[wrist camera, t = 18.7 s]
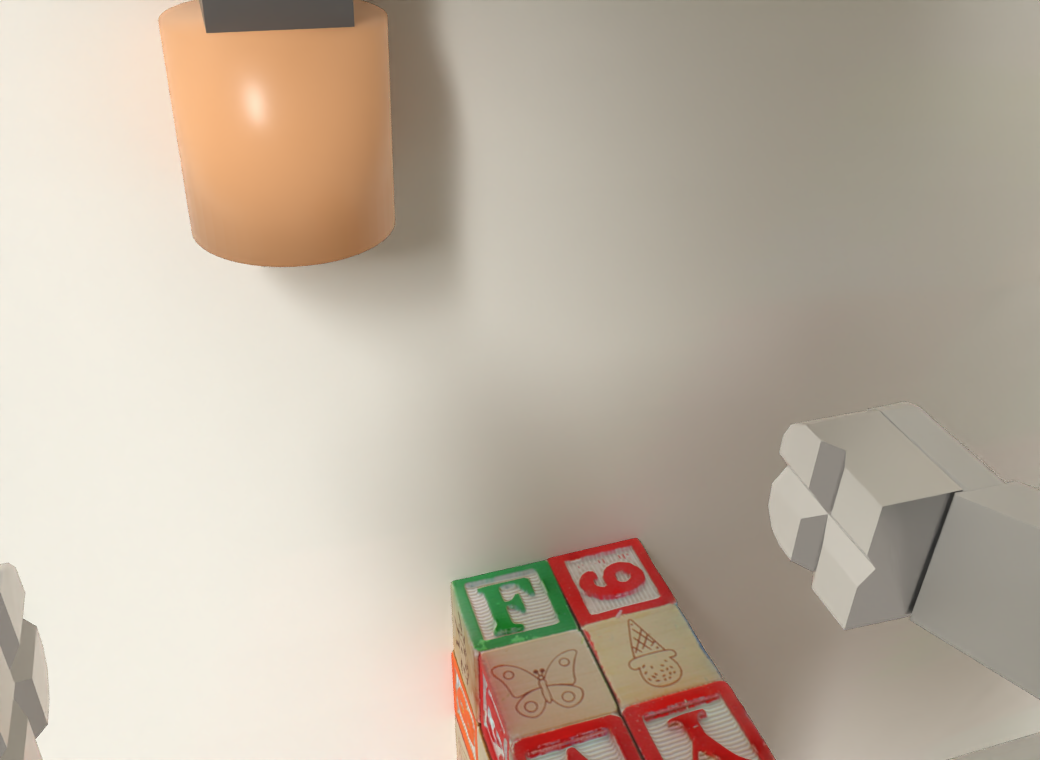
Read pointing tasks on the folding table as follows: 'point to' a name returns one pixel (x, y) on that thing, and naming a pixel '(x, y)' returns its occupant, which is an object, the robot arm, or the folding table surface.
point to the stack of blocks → (588, 666)
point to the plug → (282, 126)
